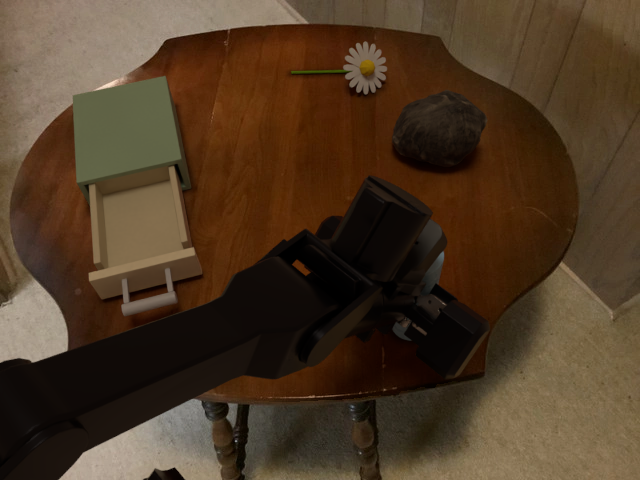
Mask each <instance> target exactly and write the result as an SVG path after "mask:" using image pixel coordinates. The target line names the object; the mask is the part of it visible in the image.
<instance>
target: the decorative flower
mask: <svg viewBox="0 0 640 480" xmlns="http://www.w3.org/2000/svg"><path fill="white" fill-rule="evenodd" d="M376 47H377V46H376V44H375V43H372V44H371V45H370V47H369V42H368V41H364V42H363V43H362V44H361V43H360V42H357V43H356V44H355V48H356V49H355V48H353V47H350V48H349V49H348V52H349V54H350V55H345V56H344V60H345V61H346V62H347V63H349V64H343V66H342V68H343V69H325V70H323V69H321V70H319V69H318V70H291V71H290V74H291V75H305V74H306V75H307V74H309V75H311V74H312V75H313V74H345V76H344V79H346V80H350V81H349V84H348V85H349V88H354V87H356V89H355V92H356V93H361V91H362V92H363V94H364V95H365V96H366V95H368V93H369V91H371V93H372V94H373V93H374V94H375V93H376V92H377V88H378V89H380V88H382V86H383V84H382V82H381V81H386V80H387V76H386V75H385V74H384V73H385V72H387V71H388V67H387V66H386V65H383V64H385V63H386V62H387V58H386V57H385V56H382V57H381V55H382V53H383V52H382V49H380V48H379V49H377V48H376ZM376 49H377V50H376Z"/></svg>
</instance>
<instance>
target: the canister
mask: <svg viewBox="0 0 640 480" xmlns="http://www.w3.org/2000/svg"><path fill="white" fill-rule="evenodd" d="M444 261H445V251H443V252H442V253H441V254H440V255H439V256H438V258H437V259H436V260H435V261H434V263H433V264H432V265H431V267H430V268H429V269H428V271H427V272H426V273H425V276H424V278H423V280H422V281H423V282H425V283H426V285H425V287H424V288H423V290H422V292H421V293H420V294H421V295H423V296H426V295H428V294H429V293H430V291H431V290H432V288H433V287H434V285H435V283H437V284H438V285H440V279H441V275H442V271H443V266H444ZM414 302H415V300H414ZM416 305H418V303H417V304H416ZM407 320H408V318H407ZM410 323H411V322H410ZM409 325H410V324H409ZM409 325H408V326H409ZM407 328H408V327H405V328H404V327H402V326H401V325H400V324H398V323H397V322H396V323H395V325H394V327H393V328H392V330H391V331H392V332H393V333H394V335H396V336H397V337H398V338H400V339H401V340H405V341H409V342H410V341H411V342H413V341H412V340H410V339H409V338H408V337H406V336H405V335H404V333H405V331H406V329H407Z"/></svg>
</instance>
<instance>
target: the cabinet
mask: <svg viewBox="0 0 640 480" xmlns="http://www.w3.org/2000/svg"><path fill="white" fill-rule="evenodd" d="M72 115H73V117H72V118H73V137H74V138H73V139H74V156H75V157H74V159H75V177H76V178H75V180H76V184H77V186H78V188H79V190H80V192H81V193H82V195H83V197H84V198H85V200H86V202H87V204H88V205H89V207H90V195H89V184H91V183H95V182H99V181H104V180H108V179H113V178H117V177H121V176H126V175H130V174H134V173H139V172H143V171H148V170H152V169H156V168H161V167H165V166H169V165H174V164H175V166H176V169H177V172H178V174H179V177H180V183H181V188H182V192H183V191H187V190H191V189H192V183H191V179H190V173H189V168H188V163H187V159H186V153H185V148H184V144H183V139H182V133H181V129H180V122H179V118H178V114H177V108H176V105H175V101H174V98H173V95H172V91H171V88H170V84H169V82H168V79H167V76H166V75H163V76H157V77H152V78H147V79H143V80H140V81H134V82H129V83H124V84H120V85H115V86H110V87H105V88H101V89H96V90H90V91H85V92H81V93H77V94H72Z"/></svg>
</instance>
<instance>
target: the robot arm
mask: <svg viewBox="0 0 640 480" xmlns="http://www.w3.org/2000/svg"><path fill="white" fill-rule="evenodd" d="M433 214H434V212H433V210H432V209H431V208H430V207H429V206H428V205H427V204H426V203H425V202H423V201H421V200H420V199H419V198H417V197H416V196H415V195H413V194H411V193H410V192H409V191H407V190H405V189H403V188H402V187H400V186H398V185H396V184H394V183H392V182H390V181H388V180H385V179H384V178H381V177H378V176H375V175H371V174H368V176H366V177H365V178H364V179H363V180H362V183H361V185H360V186H359V188H358V190H357V192H356V193H355V195H354V197H353V198H352V201H351V203H350V204H349V206H348V208H347V210H346V211H345V213H344V214H343V216H342V215H330V216H328V217H326V218H325V219H323V220H322V221H321V222H320V224H319V225H318V228H317V229H316V231H315V233H313V232H311V230H309V229H308V228H303V229H302V230H301V231H299V232H298V233H296V234H295V235H293V236H292V237H291V238H289V239H288V240H287V239H285V238H283V239H282V240H280V242H278V243H277V244H276V245H275V246H274V247H272V248H271V249H270V250H269V251H267V253H266V254H265V255H263V256H262V257H261V258H260V259H259V260H258V261H256V262H255V263H253V264H252V265H250V266H248V267H246V268H244V269H242V270H239V271H238V272H235V273H234V274H232V276H231V277H230V279H229V280H228V282H227V284H226V286H225V287H224V289H223V291H222V293H221V294H220V296H217V297H215V298H214V299H211V300H210V301H208V302H206V303H203V304H200V305H197V306H194V307H190V308H188V309H186V310H182V311H180V312H176V313H174V314H171V315H167V316H165V317H162V318H159V319H156V320H153V321H150V322H148V323H144V324H142V325H139V326H136V327H133V328H130V329H127V330H124V331H121V332H117V333H115V334H113V335H110V336H107V337H103V338H100V339H98V340H95V341H92V342H89V343H87V344H82V345H80V346H77V347H74V348H72V349H68V350H66V351H65V350H64V351H63V352H60V353H57V354H54V355H51V356H47V357H45V358H42V359H39V360H36V361H31V359H26V358H21V357H16V358H10V359H6V360H3V361H1V362H0V480H60V479H61V478H62V477H64V475H65V474H67V472H68V471H69V470H70V469H71V468H72V467H73V466H74V465H75V464H76V462H77V461H78V460H79V459H80V457H81V456H82V455H83V454H84V453H85V452H88V451H90V450H92V449H94V448H96V447H98V446H100V445H102V444H104V443H106V442H108V441H110V440H112V439H114V438H116V437H119V436H120V435H122V434H124V433H127V432H129V431H130V430H133V429H135V428H136V427H138V426H141V425H142V424H144V423H146V422H148V421H151V420H153V419H155V418H157V417H159V416H161V415H162V414H165V413H167V412H169V411H171V410H173V409H175V408H177V407H179V406H181V405H184V404H185V403H187V402H189V401H191V400H193V399H195V398H197V397H200V396H202V395H204V394H206V393H207V392H210V391H211V390H214V389H216V388H218V387H219V386H222V385H224V384H226V383H228V382H230V381H232V380H235V379H238V378H240V377H244V376H245V377H252V378H259V379H266V380H279V379H281V378H284V377H286V376H290V375H292V374H294V373H297V372H299V371H302V370H304V369H306V368H308V367H309V368H314V367H316V366H318V365H319V364H321V363H322V362H324V361H325V360H326V359H327V357H328V356H330V355H331V354H332V353H333V351H334V350H335V349H336V348H337V347H338V345H339V344H341V343H342V341H344V340H345V339H348V338H351V337H354V336H355V337H356V338H357V339H359V340H360V341H361V342H363V343H366V342H369V341H370V340H371V338H372V337H373V335H374V334H375V332H376V330H377V331H378V332H379V333H381V334H382V335H383V336H387V335H389V334H390V333H391V331H393V330H392V328H393V327H394V325H395V323H396V322H397V323H398V324H400V325H401V326H402V327H404V328H405V327H408V328H407V329H406V331H405V333H404V335H405V336H406V337H408V338H409V339H410V340H412V341H411V342H413V343H414V344H415V345H417V346H418V347H417V348H416V349H415V354H414V356H415V357H416V358H417V359H418V360H420V361H421V362H422V363H423V364H424V365H426V367H429V369H431V370H432V371H434V372H435V373H436V374H437V375H438V376H440V377H441V378H442V379H443V380H451V379H455V378H457V377H459V376H460V375H461V374H462V373H463V371H464V370H465V368H466V367H467V365H468V364H469V362H470V361H471V359H472V358H473V356H474V355H475V353H476V352H477V351H478V349H479V348H480V346H481V345H482V343H483V341H485V339H486V337H487V336H488V334H489V332H490V331H491V326H490V322H489V320H488V319H486V318H485V317H484V316H483V315H481V314H479V313H478V312H477V311H475V309H474V310H473V309H472V308H471V307H470V306H468V305H467V304H466V303H464V302H461V301H459V299H458V298H457V296H455V295H453V294H452V293H451V292H450V291H448V290H446V289H445V288H443V287H442V286H441V285H440V284H437V283H435V285H434V287H433V288H432V290H431V291H430V293H429V294H428V295H426V296H423V295H421V294H420V293H421V292H422V290H423V288H424V287H425V285H426V283H425V282H423V281H422V280H423V278H424V276H425V273H426V272H427V271H428V269H429V268H430V267H431V265H432V264H433V263H434V261H435V260H436V259H437V258H438V256H439V255H440V254H441V253H442V252H445V249H446V248H447V246H448V238H447V236H446V234H445V232H444V230H443V228H442V226H441V225H440V224H439V223H438V222H436V221H435V220H433V219H432V216H433ZM296 261H298V262H299V263H300V264H302V265H303V268H304V269H305V270H307V271H308V272H309V273H307V274H306V275H305V273H303V272H302V271H301V270H299V269H298V268H297V267H296V266H294V265H293V264H294V263H295V262H296ZM414 300H415V302H414ZM417 303H418V305H416V304H417ZM407 318H408V320H407ZM410 322H411V323H410ZM409 324H410V325H409ZM408 325H409V326H408ZM410 340H409V341H410ZM142 480H186V478H185V477H184V476H183V475H182V474H181V473H180V472H179V470H178V468H176V467H175V466H174V467H170V468H169V469H163V470H162V469H159V468H154V469H153V470H152V471H151V473H150V474H149V476H148V477H144V478H143V479H142Z"/></svg>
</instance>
